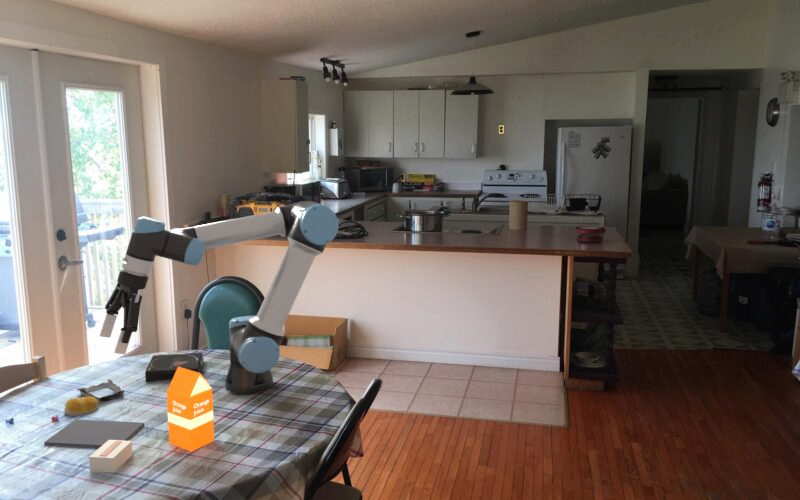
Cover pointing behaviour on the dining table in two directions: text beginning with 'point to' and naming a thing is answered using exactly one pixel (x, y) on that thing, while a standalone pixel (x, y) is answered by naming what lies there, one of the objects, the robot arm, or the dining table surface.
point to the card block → (110, 456)
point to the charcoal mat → (93, 433)
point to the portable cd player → (172, 365)
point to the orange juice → (190, 410)
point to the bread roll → (81, 406)
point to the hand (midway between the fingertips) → (112, 344)
